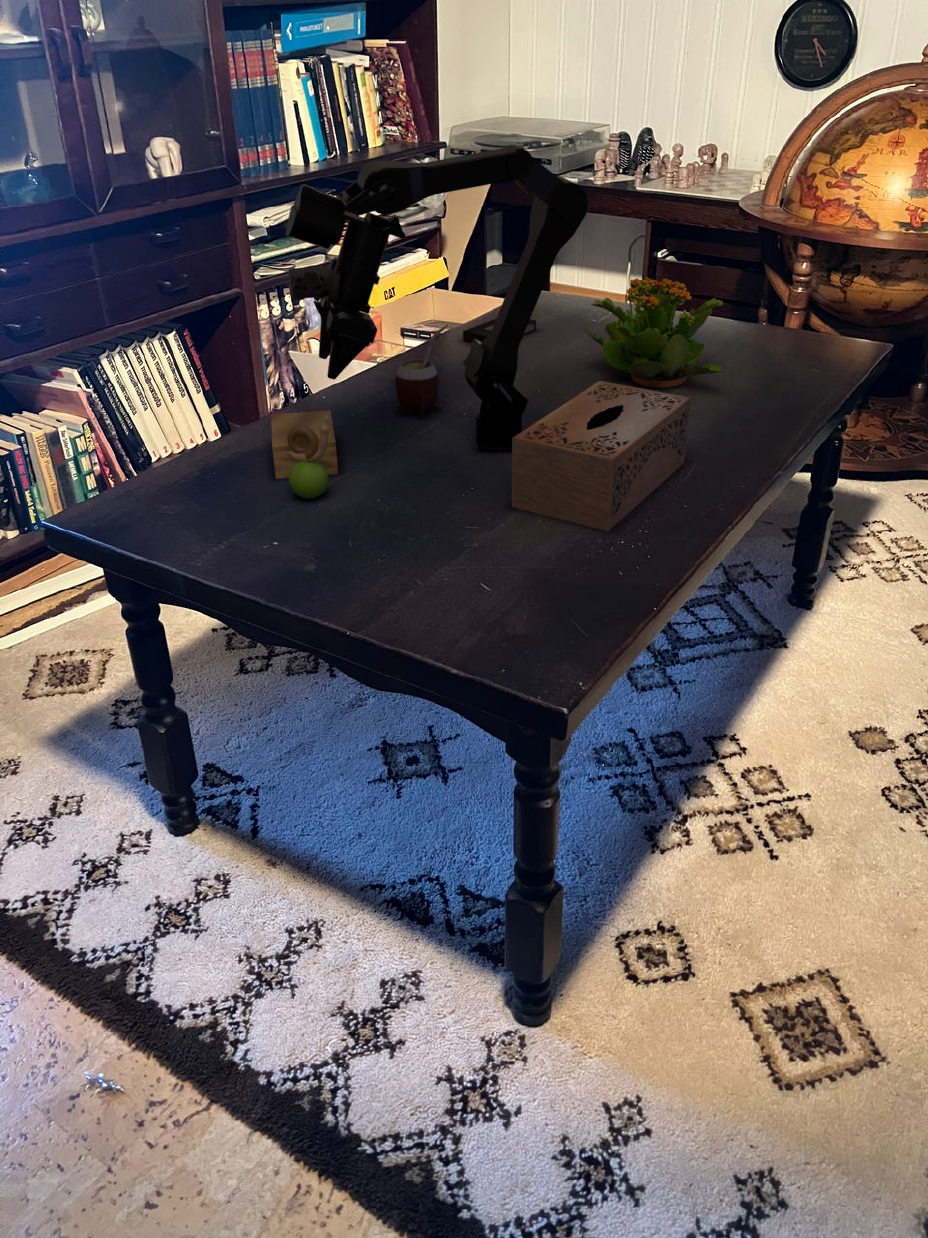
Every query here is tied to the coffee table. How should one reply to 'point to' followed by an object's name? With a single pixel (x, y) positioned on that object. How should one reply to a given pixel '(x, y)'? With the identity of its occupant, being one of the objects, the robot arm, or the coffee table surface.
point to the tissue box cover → (599, 454)
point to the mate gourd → (418, 384)
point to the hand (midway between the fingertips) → (326, 368)
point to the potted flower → (655, 334)
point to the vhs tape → (485, 329)
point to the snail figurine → (308, 460)
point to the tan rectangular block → (281, 448)
